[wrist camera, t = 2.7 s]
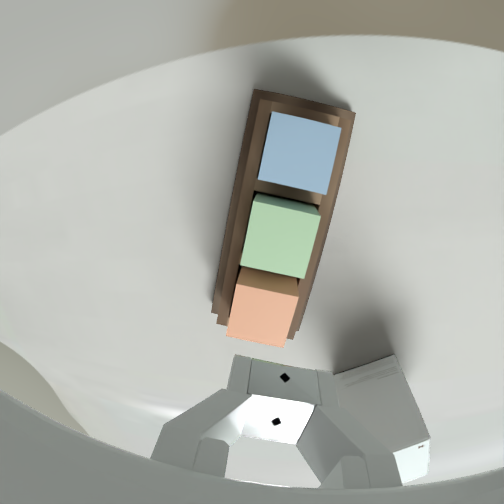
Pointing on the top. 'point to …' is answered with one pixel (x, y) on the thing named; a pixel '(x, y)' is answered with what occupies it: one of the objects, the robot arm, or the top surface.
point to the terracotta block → (263, 306)
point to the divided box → (276, 194)
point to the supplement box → (387, 412)
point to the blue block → (299, 153)
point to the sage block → (280, 235)
